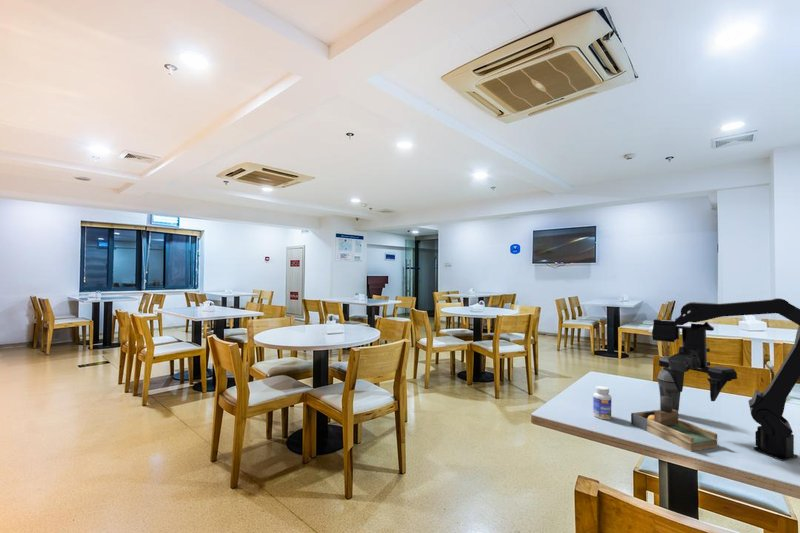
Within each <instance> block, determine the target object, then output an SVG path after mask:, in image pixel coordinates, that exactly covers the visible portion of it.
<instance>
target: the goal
mask: <svg viewBox="0 0 800 533" xmlns="http://www.w3.org/2000/svg"><path fill="white" fill-rule="evenodd" d="M656 410H657V409H656ZM656 410H647V411H638V412H631V414H630V424H631V425H632V426H634V427H636V428H639V429H640V430H643V431H645V432H647V418H648V417H649V416H650V415H654V411H656Z"/></svg>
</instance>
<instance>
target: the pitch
mask: <svg viewBox="0 0 800 533" xmlns="http://www.w3.org/2000/svg"><path fill="white" fill-rule="evenodd" d="M646 432H647V433H649V434H652V435H654V436H657V437H659V438H660V439H663V440H665V441H667V442H670V443H672V444H674V445H676V446H678V447H681V448H682V449H685V450H687V451H690V452H696V451H700V450H706V449H707V448H708V449H712V448H717V447H718V433H716V432H714V431H711V430H708V429H706V428H703V427H701V426H698V425H695V424H692V423H691V422H687V421H684V420H683V419H680V418H678V424H675V425H668V426H665V425H662V424H660V423H657V422H655V421H653V420H650V419H647V431H646ZM708 449H707V450H708Z"/></svg>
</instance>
